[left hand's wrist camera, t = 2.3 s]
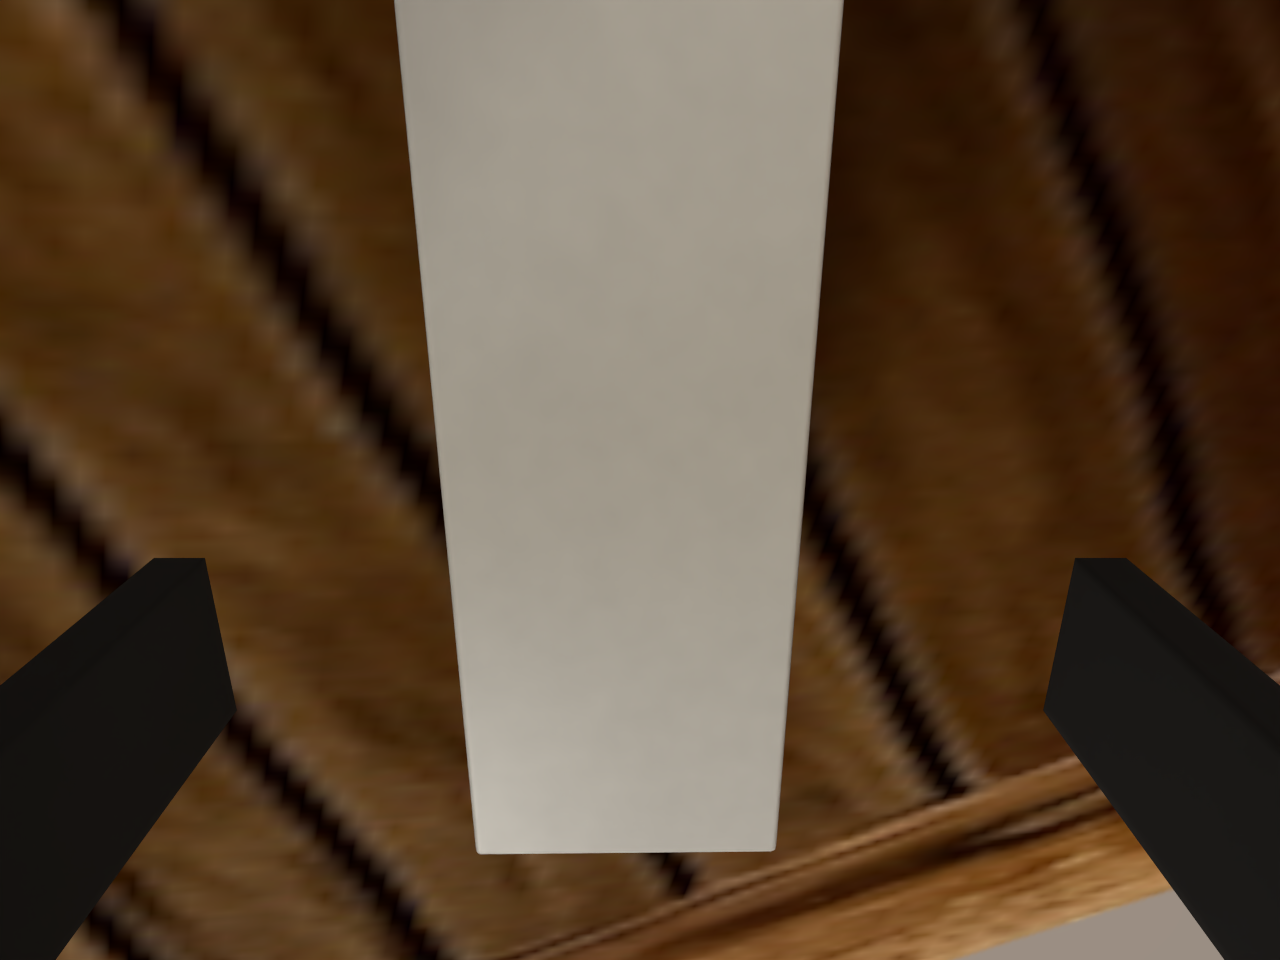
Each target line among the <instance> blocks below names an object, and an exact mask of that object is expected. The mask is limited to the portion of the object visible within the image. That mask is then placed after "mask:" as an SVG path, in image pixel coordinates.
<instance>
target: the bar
mask: <svg viewBox="0 0 1280 960" xmlns="http://www.w3.org/2000/svg"><path fill="white" fill-rule="evenodd" d="M394 4H395V14H396V24H397V35H398V45H399V55H400V66H401V76H402V87H403V97H404V107H405V118H406V128H407V138H408V149H409V159H410V170H411V180H412V190H413V201H414V211H415V221H416V232H417V242H418V252H419V263H420V273H421V284H422V294H423V304H424V315H425V325H426V335H427V346H428V356H429V367H430V377H431V387H432V398H433V408H434V418H435V429H436V439H437V449H438V460H439V470H440V481H441V491H442V501H443V512H444V522H445V532H446V543H447V553H448V564H449V574H450V584H451V595H452V605H453V615H454V626H455V636H456V646H457V657H458V667H459V678H460V688H461V698H462V709H463V719H464V729H465V740H466V750H467V760H468V771H469V781H470V792H471V802H472V812H473V823H474V833H475V843H476V850H477V852H478V853H479V854H540V853H639V852H738V851H773V850H774V849H775V847H776V840H777V828H778V815H779V803H780V790H781V778H782V765H783V753H784V740H785V728H786V716H787V703H788V691H789V678H790V666H791V653H792V641H793V628H794V616H795V603H796V591H797V578H798V566H799V553H800V541H801V528H802V516H803V503H804V491H805V479H806V466H807V454H808V441H809V429H810V416H811V404H812V391H813V379H814V366H815V354H816V341H817V329H818V316H819V304H820V291H821V279H822V267H823V254H824V242H825V229H826V217H827V204H828V192H829V179H830V167H831V154H832V142H833V129H834V117H835V104H836V92H837V79H838V67H839V54H840V42H841V30H842V17H843V5H844V0H394Z"/></svg>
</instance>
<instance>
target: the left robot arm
mask: <svg viewBox="0 0 1280 960" xmlns="http://www.w3.org/2000/svg"><path fill="white" fill-rule="evenodd" d="M236 711H237V710H236V705H235V700H234V695H233V691H232V686H231V681H230V676H229V672H228V667H227V662H226V657H225V652H224V648H223V643H222V638H221V633H220V629H219V624H218V619H217V614H216V609H215V605H214V600H213V595H212V590H211V586H210V581H209V576H208V571H207V567H206V562H205V558H154V559H152V560H151V561H150V562H149V563H147V564H146V565H145V566H144V567H143V568H141V569H140V570H139V571H138V572H137V573H135V574H134V575H133V576H132V577H131V578H129V579H128V580H127V581H126V582H125V583H123V584H122V585H121V586H120V587H119V588H117V589H116V590H115V591H114V592H113V593H111V594H110V595H109V596H108V597H106V598H105V599H104V600H103V601H102V602H100V603H99V604H98V605H97V606H96V607H94V608H93V609H92V610H91V611H90V612H88V613H87V614H86V615H85V616H84V617H82V618H81V619H80V620H79V621H78V622H76V623H75V624H74V625H73V626H72V627H70V628H69V629H68V630H67V631H66V632H64V633H63V634H62V635H61V636H59V637H58V638H57V639H56V640H55V641H53V642H52V643H51V644H50V645H49V646H47V647H46V648H45V649H44V650H43V651H41V652H40V653H39V654H38V655H37V656H35V657H34V658H33V659H32V660H31V661H29V662H28V663H27V664H26V665H25V666H23V667H22V668H21V669H20V670H18V671H17V672H16V673H15V674H14V675H12V676H11V677H10V678H9V679H8V680H6V681H5V682H4V683H3V684H2V685H0V960H56V958H57V957H58V956H59V954H60V953H61V952H62V950H63V949H64V947H65V946H66V945H67V943H68V942H69V941H70V939H71V938H72V936H73V935H74V934H75V932H76V931H77V930H78V928H79V927H80V925H81V924H82V923H83V921H84V920H85V918H86V917H87V916H88V914H89V913H90V912H91V910H92V909H93V907H94V906H95V905H96V903H97V902H98V901H99V899H100V898H101V896H102V895H103V894H104V892H105V891H106V890H107V888H108V887H109V885H110V884H111V883H112V881H113V880H114V879H115V877H116V876H117V874H118V873H119V872H120V870H121V869H122V868H123V866H124V865H125V863H126V862H127V861H128V859H129V858H130V857H131V855H132V854H133V852H134V851H135V850H136V848H137V847H138V846H139V844H140V843H141V841H142V840H143V839H144V837H145V836H146V834H147V833H148V832H149V830H150V829H151V828H152V826H153V825H154V823H155V822H156V821H157V819H158V818H159V817H160V815H161V814H162V812H163V811H164V810H165V808H166V807H167V806H168V804H169V803H170V801H171V800H172V799H173V797H174V796H175V795H176V793H177V792H178V790H179V789H180V788H181V786H182V785H183V784H184V782H185V781H186V779H187V778H188V777H189V775H190V774H191V773H192V771H193V770H194V768H195V767H196V766H197V764H198V763H199V762H200V760H201V759H202V757H203V756H204V755H205V753H206V752H207V750H208V749H209V748H210V746H211V745H212V744H213V742H214V741H215V739H216V738H217V737H218V735H219V734H220V733H221V731H222V730H223V728H224V727H225V726H226V724H227V723H228V722H229V720H230V719H231V717H232V716H233V715H234V713H235V712H236ZM1043 711H1044V712H1045V713H1046V715H1047V716H1048V717H1049V719H1050V720H1051V722H1052V723H1053V724H1054V726H1055V727H1056V728H1057V730H1058V731H1059V733H1060V734H1061V735H1062V737H1063V738H1064V739H1065V741H1066V742H1067V744H1068V745H1069V746H1070V748H1071V749H1072V750H1073V752H1074V753H1075V755H1076V756H1077V757H1078V759H1079V760H1080V762H1081V763H1082V764H1083V766H1084V767H1085V768H1086V770H1087V771H1088V773H1089V774H1090V775H1091V777H1092V778H1093V779H1094V781H1095V782H1096V784H1097V785H1098V786H1099V788H1100V789H1101V790H1102V792H1103V793H1104V795H1105V796H1106V797H1107V799H1108V800H1109V801H1110V803H1111V804H1112V806H1113V807H1114V808H1115V810H1116V811H1117V812H1118V814H1119V815H1120V817H1121V818H1122V819H1123V821H1124V822H1125V823H1126V825H1127V826H1128V828H1129V829H1130V830H1131V832H1132V833H1133V834H1134V836H1135V837H1136V839H1137V840H1138V841H1139V843H1140V844H1141V846H1142V847H1143V848H1144V850H1145V851H1146V852H1147V854H1148V855H1149V857H1150V858H1151V859H1152V861H1153V862H1154V863H1155V865H1156V866H1157V868H1158V869H1159V870H1160V872H1161V873H1162V874H1163V876H1164V877H1165V879H1166V880H1167V881H1168V883H1169V884H1170V885H1171V887H1172V888H1173V890H1174V891H1175V892H1176V894H1177V895H1178V896H1179V898H1180V899H1181V901H1182V902H1183V903H1184V905H1185V906H1186V907H1187V909H1188V910H1189V912H1190V913H1191V914H1192V916H1193V917H1194V918H1195V920H1196V921H1197V923H1198V924H1199V925H1200V927H1201V928H1202V930H1203V931H1204V932H1205V934H1206V935H1207V936H1208V938H1209V939H1210V941H1211V942H1212V943H1213V945H1214V946H1215V947H1216V949H1217V950H1218V952H1219V953H1220V954H1221V956H1222V957H1223V958H1224V960H1280V685H1278V684H1277V683H1276V682H1275V681H1274V680H1272V679H1271V678H1270V677H1269V676H1268V675H1266V674H1265V673H1264V672H1263V671H1262V670H1260V669H1259V668H1258V667H1257V666H1255V665H1254V664H1253V663H1252V662H1251V661H1249V660H1248V659H1247V658H1246V657H1245V656H1243V655H1242V654H1241V653H1240V652H1239V651H1237V650H1236V649H1235V648H1234V647H1233V646H1231V645H1230V644H1229V643H1228V642H1227V641H1225V640H1224V639H1223V638H1222V637H1221V636H1219V635H1218V634H1217V633H1216V632H1214V631H1213V630H1212V629H1211V628H1210V627H1208V626H1207V625H1206V624H1205V623H1204V622H1202V621H1201V620H1200V619H1199V618H1198V617H1196V616H1195V615H1194V614H1193V613H1192V612H1190V611H1189V610H1188V609H1187V608H1186V607H1184V606H1183V605H1182V604H1181V603H1180V602H1178V601H1177V600H1176V599H1175V598H1174V597H1172V596H1171V595H1170V594H1169V593H1167V592H1166V591H1165V590H1164V589H1163V588H1161V587H1160V586H1159V585H1158V584H1157V583H1155V582H1154V581H1153V580H1152V579H1151V578H1149V577H1148V576H1147V575H1146V574H1145V573H1143V572H1142V571H1141V570H1140V569H1139V568H1137V567H1136V566H1135V565H1134V564H1133V563H1131V562H1130V561H1129V560H1128V559H1126V558H1075V562H1074V567H1073V571H1072V576H1071V581H1070V586H1069V590H1068V595H1067V600H1066V605H1065V609H1064V614H1063V619H1062V624H1061V629H1060V633H1059V638H1058V643H1057V648H1056V652H1055V657H1054V662H1053V667H1052V672H1051V676H1050V681H1049V686H1048V691H1047V695H1046V700H1045V705H1044V710H1043Z"/></svg>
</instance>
